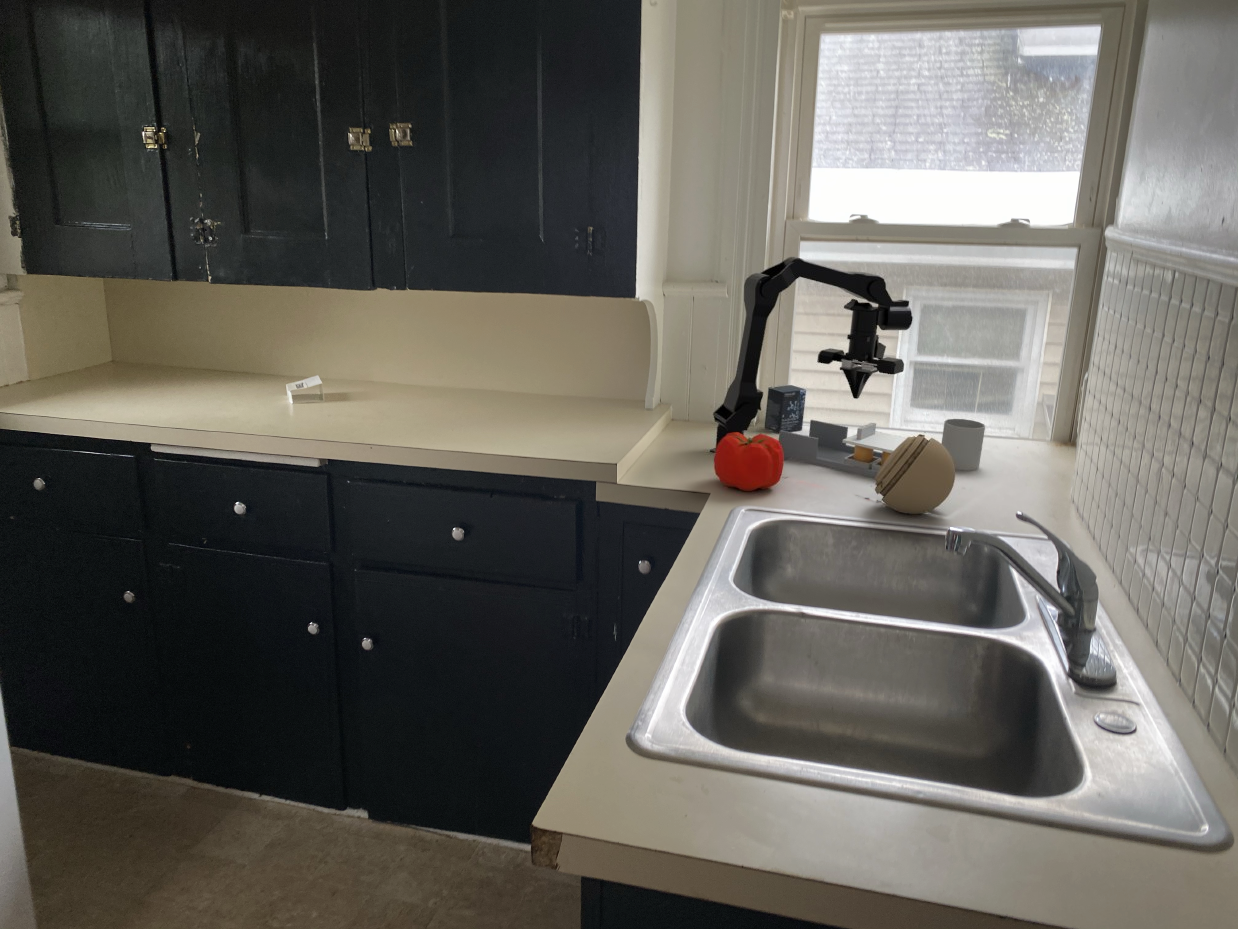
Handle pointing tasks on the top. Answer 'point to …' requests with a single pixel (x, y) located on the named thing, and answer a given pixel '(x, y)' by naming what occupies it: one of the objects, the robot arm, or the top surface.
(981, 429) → the cup
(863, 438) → the lid
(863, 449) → the orange rounded cylinder
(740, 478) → the tomato
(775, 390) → the box
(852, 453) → the housing
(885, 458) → the orange cylinder
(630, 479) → the top surface
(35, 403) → the top surface
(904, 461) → the mechanical component
